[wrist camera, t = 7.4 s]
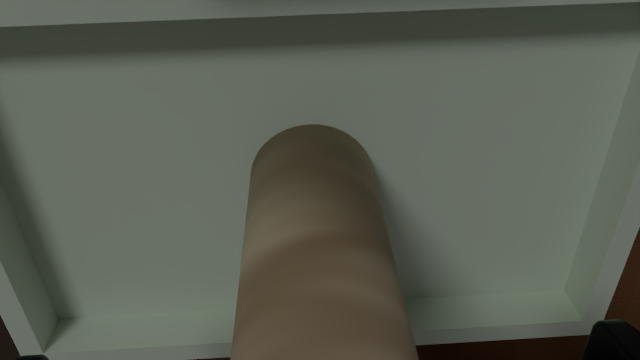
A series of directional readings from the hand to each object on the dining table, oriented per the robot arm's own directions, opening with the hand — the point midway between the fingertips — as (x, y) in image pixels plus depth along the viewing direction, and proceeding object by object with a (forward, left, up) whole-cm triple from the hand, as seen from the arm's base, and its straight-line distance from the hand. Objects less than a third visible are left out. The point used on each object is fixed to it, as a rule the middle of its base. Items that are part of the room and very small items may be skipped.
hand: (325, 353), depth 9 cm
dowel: (0, 0, -5) cm, 5 cm away
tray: (0, 0, -6) cm, 6 cm away
